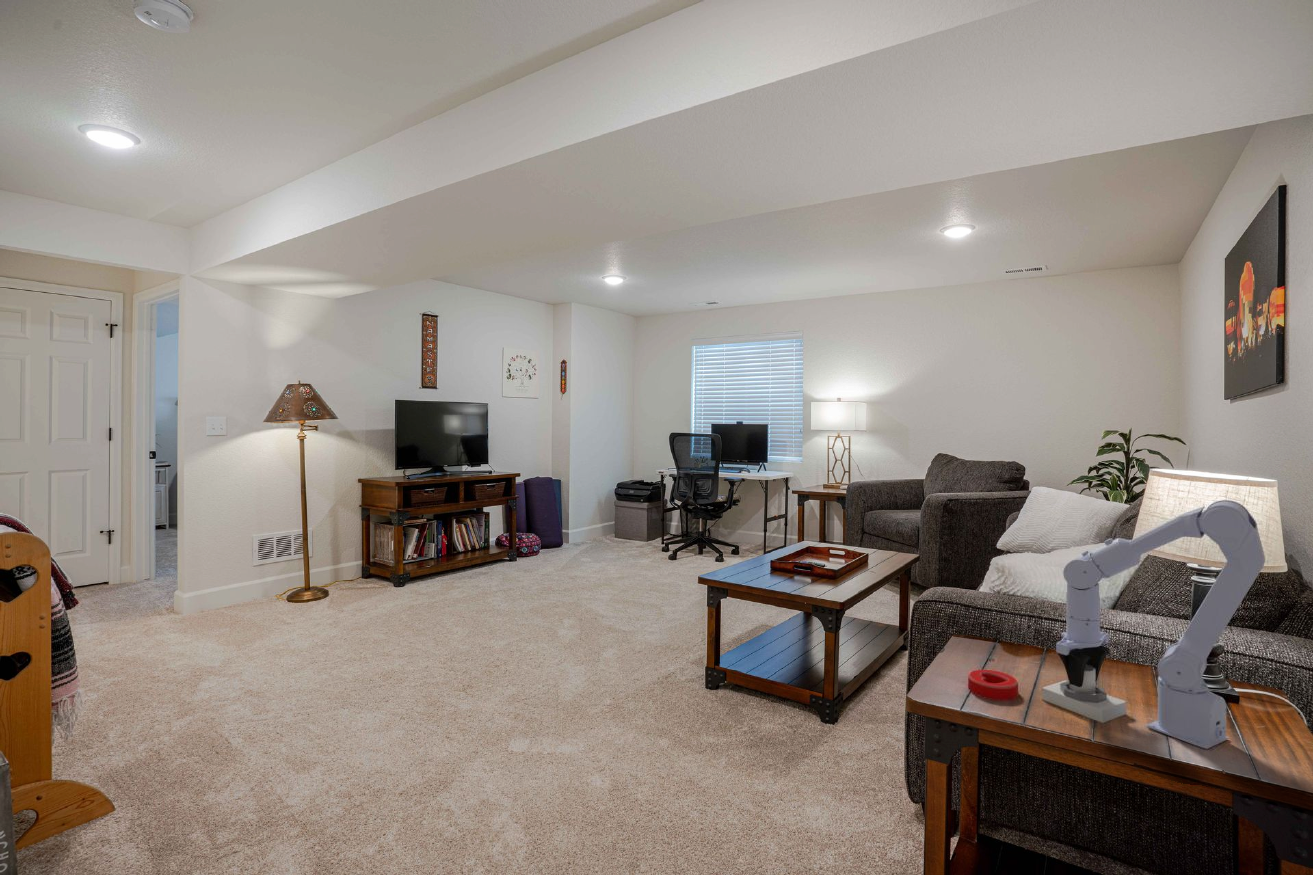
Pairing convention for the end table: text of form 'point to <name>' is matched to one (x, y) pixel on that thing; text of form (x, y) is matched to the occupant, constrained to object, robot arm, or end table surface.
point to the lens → (1086, 681)
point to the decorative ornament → (993, 684)
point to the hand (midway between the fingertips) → (1083, 682)
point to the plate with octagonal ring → (1085, 702)
